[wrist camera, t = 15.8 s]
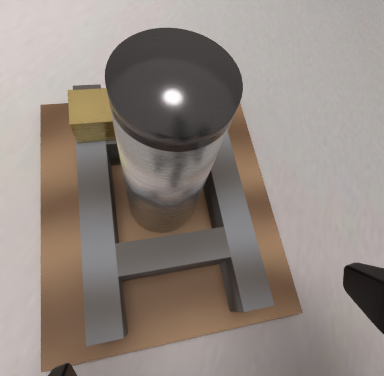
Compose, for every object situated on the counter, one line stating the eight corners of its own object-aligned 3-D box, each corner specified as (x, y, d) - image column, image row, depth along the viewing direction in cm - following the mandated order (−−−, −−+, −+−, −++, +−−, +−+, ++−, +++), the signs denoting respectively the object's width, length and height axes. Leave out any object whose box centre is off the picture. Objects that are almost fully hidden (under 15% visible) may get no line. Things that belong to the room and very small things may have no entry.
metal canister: (206, 208, 21) (269, 95, 10) (153, 246, 19) (158, 161, 8) (169, 161, 22) (188, 12, 11) (116, 193, 20) (77, 56, 9)
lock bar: (226, 129, 20) (234, 112, 18) (77, 142, 18) (69, 124, 16) (218, 101, 21) (225, 82, 19) (75, 111, 19) (67, 90, 17)
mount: (296, 312, 20) (328, 313, 16) (45, 369, 17) (18, 385, 13) (234, 98, 26) (247, 66, 23) (44, 111, 23) (25, 76, 20)
